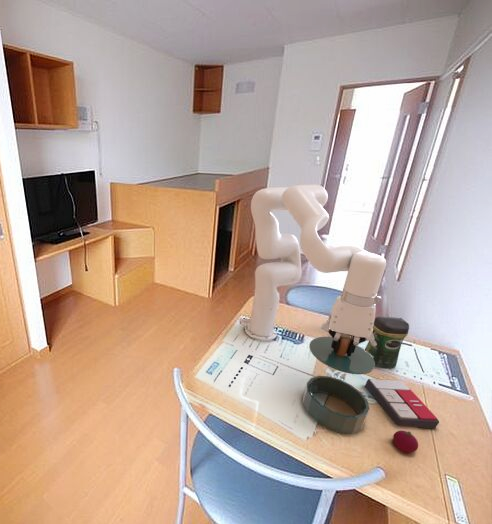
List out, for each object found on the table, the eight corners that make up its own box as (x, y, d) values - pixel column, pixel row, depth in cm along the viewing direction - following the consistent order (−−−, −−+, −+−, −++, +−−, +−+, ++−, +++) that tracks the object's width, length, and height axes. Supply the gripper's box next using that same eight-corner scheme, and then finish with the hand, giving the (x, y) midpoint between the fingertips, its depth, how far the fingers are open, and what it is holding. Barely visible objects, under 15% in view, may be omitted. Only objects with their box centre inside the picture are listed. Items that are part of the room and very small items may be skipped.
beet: (417, 460, 78) (425, 444, 75) (392, 452, 80) (400, 435, 77) (411, 444, 82) (419, 428, 80) (388, 436, 84) (395, 420, 82)
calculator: (400, 417, 85) (367, 376, 99) (394, 428, 87) (363, 386, 100) (441, 420, 84) (403, 378, 98) (435, 430, 86) (398, 388, 100)
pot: (302, 421, 88) (307, 404, 86) (302, 385, 101) (306, 369, 99) (366, 443, 82) (374, 426, 79) (358, 402, 95) (364, 386, 92)
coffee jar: (385, 356, 115) (400, 314, 108) (398, 370, 108) (416, 326, 101) (357, 354, 116) (371, 312, 109) (369, 368, 109) (385, 324, 102)
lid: (309, 365, 87) (315, 344, 85) (308, 334, 101) (312, 316, 99) (380, 383, 81) (388, 362, 78) (368, 348, 95) (374, 328, 92)
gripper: (390, 297, 84) (371, 352, 90) (323, 286, 90) (310, 338, 97) (398, 310, 77) (377, 368, 84) (325, 296, 84) (311, 351, 91)
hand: (341, 351), depth 90 cm, fingers closed on lid, 2 cm apart
